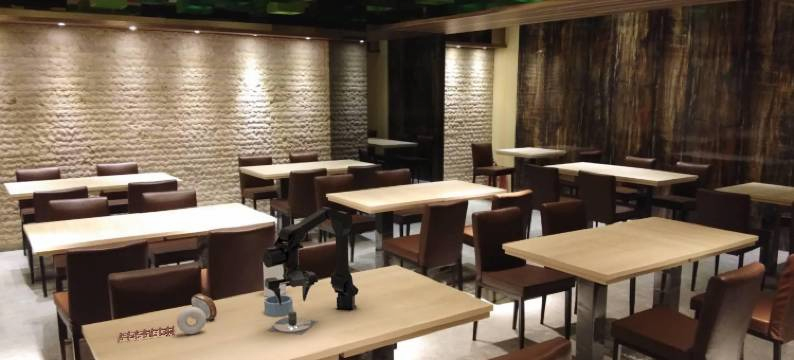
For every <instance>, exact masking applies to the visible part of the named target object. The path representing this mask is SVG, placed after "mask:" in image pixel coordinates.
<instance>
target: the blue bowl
mask: <svg viewBox="0 0 794 360" xmlns="http://www.w3.org/2000/svg"><path fill="white" fill-rule="evenodd" d="M280 296H281V305H279V303H278V300H277V298H276V296H275V295H274V296H270V297H268V296H266V297H265V298H264V300H263V301H264V303H263V304H264V305H263V306H264V315H265V316H267V317H272V318H279V317H286V316H288V313H289V312H294V308H293V297H292V296H291V295H287V294H283V295H280Z"/></svg>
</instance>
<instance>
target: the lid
mask: <svg viewBox="0 0 794 360" xmlns="http://www.w3.org/2000/svg"><path fill="white" fill-rule="evenodd" d="M287 316H288V317H287V318H284V317H283V318H284V319H283V318H280V319H279V320H277V321H275V322H274V324H273V325H274V328H275V329H276V330H277V331H280V332H279V333H282V332H286V333H285V334H290V333H292V332H300V331H304V330H306V329H308V328H309V327H310V326H311V321H310V320H311V319H309V318H306V317H301V316H297V312H296V311H293V312H289V313H288V315H287ZM311 327H312V326H311ZM311 327H310V328H311ZM310 328H309V329H310ZM309 329H308V330H309Z"/></svg>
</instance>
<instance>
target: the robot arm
mask: <svg viewBox="0 0 794 360" xmlns="http://www.w3.org/2000/svg"><path fill="white" fill-rule="evenodd" d="M326 221H330V224H331V228H332V231H333V232H334V234H335V270H334V272H333V273H331V274H330V283H329V284H330V285H331V288H332V289H333V291H334V293H335V294H337V296H336V308H335V309H336V310H338V311H349V312H352V311H353V310H354V309H355V308H357V304H356V299H355V298H356V296H357V295H358V294H359V288H358V287H357V286H356V285H355V284H354V282H353V281H354V280H353V276H352V273H351V272H350V269H349V233H350V232H351V229H352V228H353V221H354V220H353V215H352V214H351V213H349V212H345V211H341V210H339V211H338V210H336V209H333V208H331V207H326V206H322V207H321V208H319V210H317V211H316V212H313V213H312V214H311V215H309V216H308V217H305V218H304V219H303V220H301V221H299V222H297V223H294V224H289V225H287V226H284V227H282V228H281V229H280V230H279V235H278V236H277V238H276V241H275V242H274V244H273V247H267V248H265V252H264V253H263V255H262V262H264V265H265V266H266V267H267V268H270V267H274V266H278V265H282V266H283V278H284V279H279V280H278V279H277V278H276V277H273V278H266V280H265V286H266V287H267V288H268V289H269V290H272V291H273V292H274V293H275V296H276V298H277V300H278V303H279V305H281V296H280V290H281V289H280V288H279V287H280V285H281V284H286V285H287V284H290V287H291V288H296V287H302V290H301V291H302V300H303V302H305V301H306V299H307V297H308V293H309V291H310V289H311V287H312V286H314V285H315V284H316V283H318V282H319V277H318V275H317V274H316V273H315V272H313V271H308V270H306V271H305V270H304V271H302V270H301V266H300V260H299V259H300V258H299V257H300V255H299V250H300V249H304V246H303V244H301V243H300V242H302V240H303V239H305V236H306V234H308V233H309V232H311V231H312V230H314V229H315V228H316V227H318V226H319V225H321V224H323V223H324V222H326Z"/></svg>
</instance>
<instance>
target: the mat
mask: <svg viewBox="0 0 794 360" xmlns="http://www.w3.org/2000/svg"><path fill="white" fill-rule="evenodd" d="M284 318H288V317H286V316H283V317H282V319H284ZM309 320H310V321H311V326H310V327H309V328H308V329H306V330H304V331H300V332H292V333H289V334H292V335H300V336H302V335H303V334H305V333H306V332H307V331H308V330H309V329H311V327H313V326H314V325H315V324H316V323H318V320H315V319H314V320H313V319H309ZM266 331H267V332H272V333H273V332H274V333H281V334H282V333H284V334H287V333H286V332H280V331H277V330H276V329H275V328H274V324H273V325H272V326H271V327H269V328H268V329H267V330H266Z"/></svg>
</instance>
